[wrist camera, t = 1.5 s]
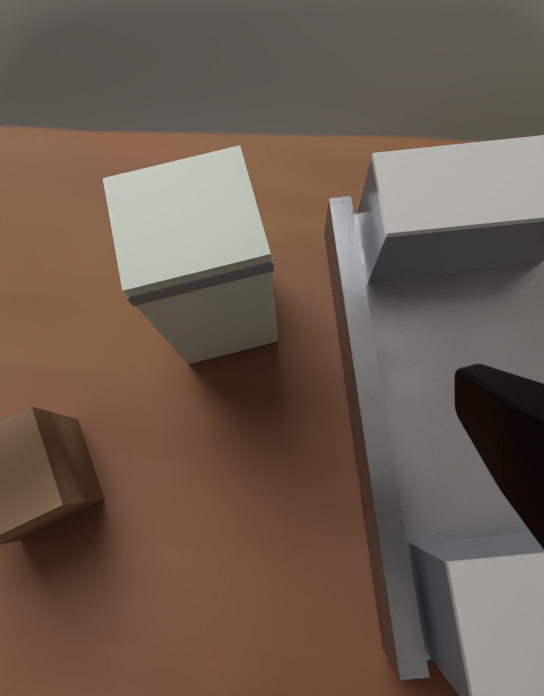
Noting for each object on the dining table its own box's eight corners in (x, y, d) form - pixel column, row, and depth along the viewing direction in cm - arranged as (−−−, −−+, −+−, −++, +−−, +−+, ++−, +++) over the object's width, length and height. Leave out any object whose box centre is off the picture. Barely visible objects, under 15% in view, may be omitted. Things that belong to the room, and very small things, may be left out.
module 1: (539, 263, 21) (600, 211, 17) (368, 280, 21) (387, 233, 17) (520, 196, 22) (574, 132, 18) (357, 213, 22) (372, 153, 18)
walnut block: (105, 499, 20) (62, 505, 17) (21, 539, 20) (-43, 554, 16) (77, 419, 22) (31, 406, 18) (-3, 456, 21) (-68, 451, 17)
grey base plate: (630, 625, 18) (694, 652, 15) (382, 648, 18) (400, 680, 16) (516, 212, 24) (548, 176, 21) (324, 232, 24) (329, 198, 21)
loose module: (279, 342, 22) (272, 254, 13) (187, 365, 22) (121, 292, 13) (259, 267, 23) (240, 143, 15) (171, 289, 23) (100, 177, 14)
